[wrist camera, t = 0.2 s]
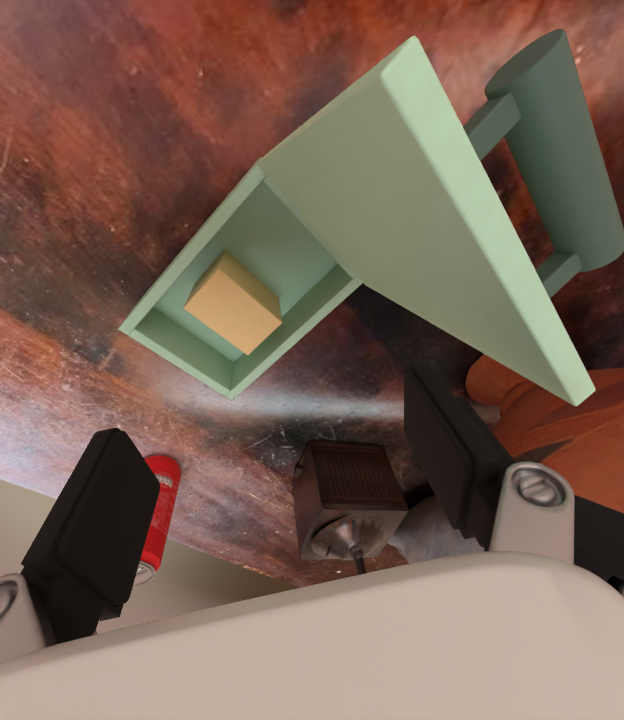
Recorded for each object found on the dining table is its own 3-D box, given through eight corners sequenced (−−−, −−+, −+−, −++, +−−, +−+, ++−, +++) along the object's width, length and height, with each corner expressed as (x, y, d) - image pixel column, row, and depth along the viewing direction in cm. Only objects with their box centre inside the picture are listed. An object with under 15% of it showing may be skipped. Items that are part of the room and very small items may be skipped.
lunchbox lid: (576, 408, 10) (704, 298, 10) (379, 74, 5) (624, -212, 4) (365, 285, 24) (410, 237, 24) (257, 164, 19) (310, 100, 19)
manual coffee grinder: (303, 437, 41) (330, 608, 26) (384, 444, 43) (450, 602, 28) (278, 512, 48) (287, 675, 34) (348, 513, 51) (385, 665, 36)
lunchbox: (235, 367, 34) (231, 401, 29) (138, 300, 29) (117, 329, 24) (350, 258, 29) (367, 279, 25) (260, 156, 24) (261, 158, 20)
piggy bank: (482, 533, 58) (479, 627, 49) (391, 502, 64) (372, 580, 54) (512, 480, 46) (514, 589, 37) (397, 448, 52) (374, 536, 43)
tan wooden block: (194, 283, 28) (182, 308, 23) (225, 248, 26) (218, 268, 22) (249, 326, 30) (247, 355, 26) (279, 297, 29) (282, 323, 25)
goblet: (527, 433, 46) (744, 667, 26) (401, 429, 42) (539, 703, 22) (616, 308, 36) (1091, 527, 16) (462, 288, 32) (827, 547, 12)
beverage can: (191, 468, 41) (170, 572, 31) (161, 486, 42) (130, 593, 32) (159, 446, 38) (124, 553, 28) (127, 466, 39) (82, 576, 29)
